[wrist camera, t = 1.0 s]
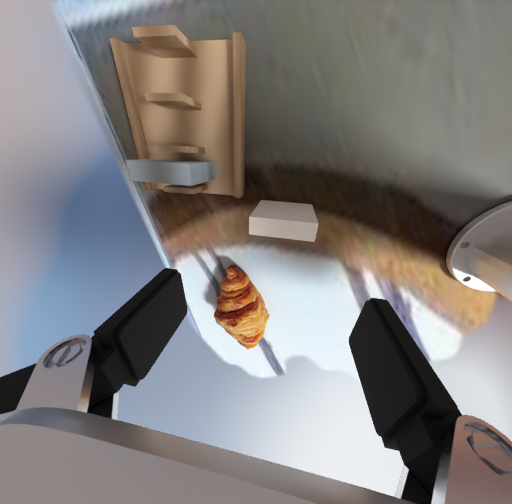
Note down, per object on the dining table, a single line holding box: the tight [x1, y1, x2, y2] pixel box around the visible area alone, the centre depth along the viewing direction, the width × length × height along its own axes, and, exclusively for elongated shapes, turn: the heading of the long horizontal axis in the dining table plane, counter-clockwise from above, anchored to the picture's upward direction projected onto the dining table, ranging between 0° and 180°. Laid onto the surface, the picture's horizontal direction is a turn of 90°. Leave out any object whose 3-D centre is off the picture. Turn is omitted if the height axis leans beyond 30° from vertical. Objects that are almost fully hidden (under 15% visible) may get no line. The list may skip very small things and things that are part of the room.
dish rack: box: [110, 25, 246, 198], centre depth 20 cm, size 14×15×8 cm
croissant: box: [214, 265, 269, 349], centre depth 34 cm, size 21×10×8 cm, turn 9°
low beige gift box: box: [249, 200, 319, 242], centre depth 22 cm, size 7×2×8 cm, turn 88°
